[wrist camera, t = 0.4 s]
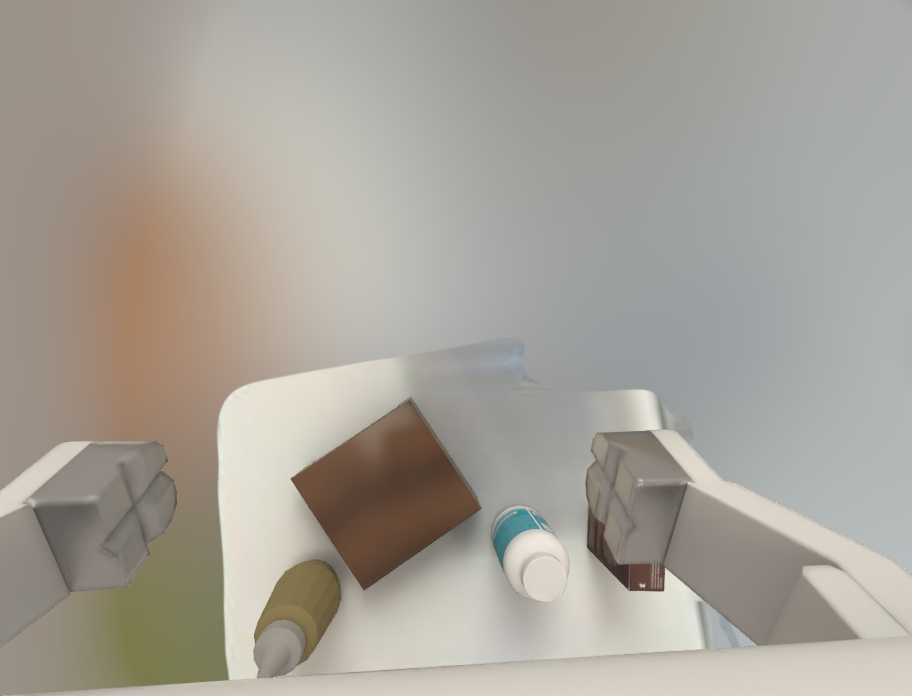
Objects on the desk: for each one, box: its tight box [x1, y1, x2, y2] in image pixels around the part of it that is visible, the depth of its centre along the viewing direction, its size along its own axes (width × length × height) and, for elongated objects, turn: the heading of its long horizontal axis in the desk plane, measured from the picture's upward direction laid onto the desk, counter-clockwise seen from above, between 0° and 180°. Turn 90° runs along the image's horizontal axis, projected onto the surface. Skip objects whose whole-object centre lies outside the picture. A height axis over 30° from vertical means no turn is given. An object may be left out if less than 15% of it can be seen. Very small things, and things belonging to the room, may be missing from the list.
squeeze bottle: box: [253, 560, 341, 679], centre depth 49 cm, size 8×8×18 cm
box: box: [587, 507, 665, 591], centre depth 54 cm, size 6×4×12 cm
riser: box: [291, 397, 481, 590], centre depth 57 cm, size 16×17×5 cm
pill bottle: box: [492, 506, 569, 602], centre depth 53 cm, size 8×7×14 cm
